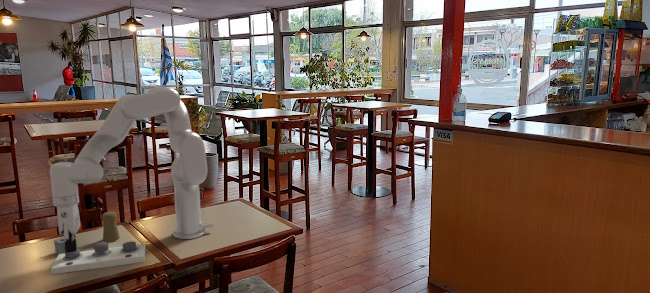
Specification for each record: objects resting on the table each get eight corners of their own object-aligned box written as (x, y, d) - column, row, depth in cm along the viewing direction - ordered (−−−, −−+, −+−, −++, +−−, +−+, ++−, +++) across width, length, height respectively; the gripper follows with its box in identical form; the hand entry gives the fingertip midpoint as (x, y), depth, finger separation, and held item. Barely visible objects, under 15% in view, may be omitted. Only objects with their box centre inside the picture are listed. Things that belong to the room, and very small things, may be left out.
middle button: (109, 246, 159) (108, 241, 159) (107, 251, 155) (107, 245, 155) (95, 248, 158) (94, 242, 157) (93, 253, 154) (93, 247, 153)
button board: (145, 248, 166) (145, 242, 165) (144, 261, 155) (143, 255, 154) (59, 259, 157) (59, 253, 156) (51, 274, 145) (50, 267, 145)
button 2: (136, 246, 162) (136, 240, 162) (136, 250, 158) (135, 245, 158) (123, 247, 161) (123, 242, 160) (122, 252, 157) (121, 246, 156)
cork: (113, 243, 171) (110, 215, 169) (99, 241, 172) (96, 214, 170) (123, 237, 177) (120, 210, 175) (109, 236, 178) (107, 209, 176)
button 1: (81, 252, 156) (80, 247, 156) (78, 257, 152) (78, 252, 152) (66, 254, 155) (66, 249, 155) (64, 259, 151) (63, 254, 150)
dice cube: (55, 253, 162) (54, 239, 161) (70, 248, 166) (68, 235, 165) (61, 256, 159) (59, 243, 158) (75, 252, 163) (74, 239, 162)
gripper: (74, 204, 144) (79, 258, 147) (82, 192, 158) (87, 241, 161) (47, 206, 142) (53, 261, 145) (58, 194, 156) (63, 244, 159)
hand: (71, 250), depth 153 cm, fingers closed
